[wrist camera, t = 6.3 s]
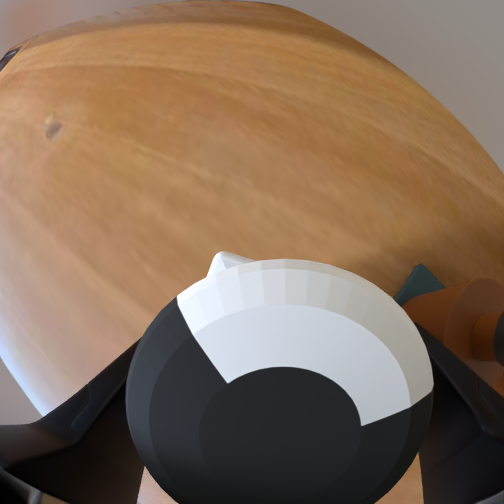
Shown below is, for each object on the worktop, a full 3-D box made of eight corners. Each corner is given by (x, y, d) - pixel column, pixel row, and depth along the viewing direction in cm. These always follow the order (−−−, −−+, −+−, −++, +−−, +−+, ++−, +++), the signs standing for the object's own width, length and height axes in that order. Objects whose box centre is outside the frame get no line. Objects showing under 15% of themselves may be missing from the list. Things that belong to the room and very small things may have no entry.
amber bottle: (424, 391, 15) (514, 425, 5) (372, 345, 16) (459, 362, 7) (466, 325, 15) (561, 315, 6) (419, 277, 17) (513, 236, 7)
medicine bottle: (316, 427, 13) (367, 572, 2) (203, 390, 15) (66, 478, 3) (357, 316, 15) (507, 283, 3) (243, 280, 16) (158, 171, 5)
